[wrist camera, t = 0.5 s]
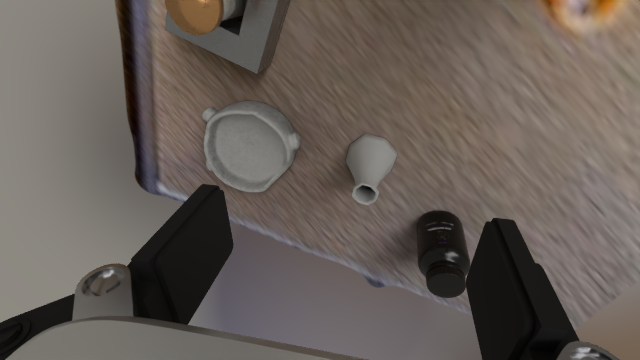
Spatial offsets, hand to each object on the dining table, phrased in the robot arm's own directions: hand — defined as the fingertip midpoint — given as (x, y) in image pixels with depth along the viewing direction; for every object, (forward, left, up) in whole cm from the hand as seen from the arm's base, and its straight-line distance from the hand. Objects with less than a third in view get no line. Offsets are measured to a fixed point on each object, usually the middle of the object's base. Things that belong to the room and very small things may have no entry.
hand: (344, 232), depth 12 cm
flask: (+14, +5, -34) cm, 37 cm away
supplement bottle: (+20, +20, -34) cm, 44 cm away
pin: (+2, -19, -34) cm, 39 cm away
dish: (+20, -12, -34) cm, 41 cm away
